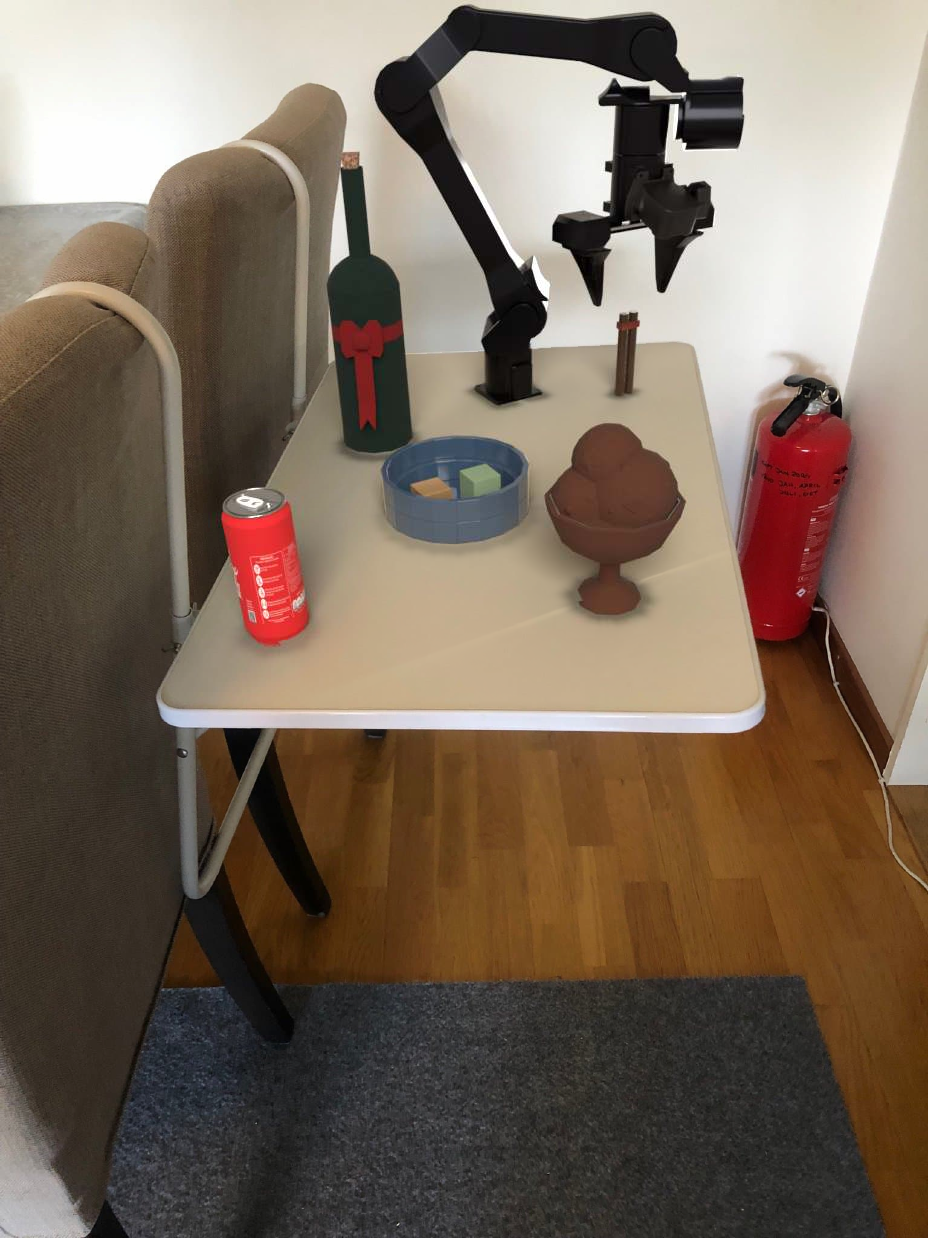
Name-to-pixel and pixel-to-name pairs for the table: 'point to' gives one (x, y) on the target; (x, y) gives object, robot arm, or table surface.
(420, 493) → the beech block
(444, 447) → the bowl
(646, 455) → the ice cream bowl
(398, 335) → the wine bottle
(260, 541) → the beverage can
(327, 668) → the table surface
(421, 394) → the table surface
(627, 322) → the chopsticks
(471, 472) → the sage block
